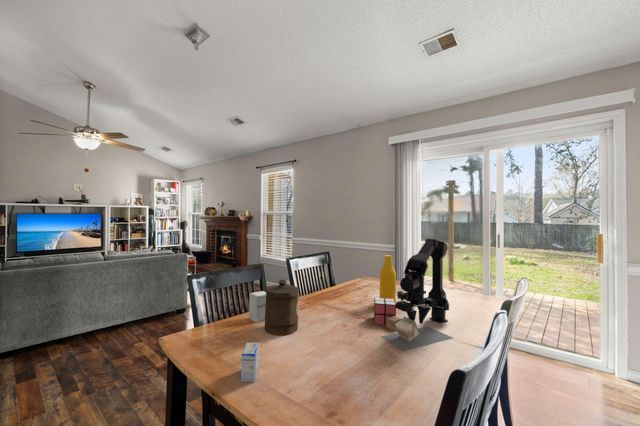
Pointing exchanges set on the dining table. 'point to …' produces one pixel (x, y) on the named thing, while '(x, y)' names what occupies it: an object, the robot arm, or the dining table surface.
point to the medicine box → (250, 362)
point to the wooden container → (281, 309)
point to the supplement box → (257, 306)
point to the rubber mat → (417, 339)
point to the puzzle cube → (383, 309)
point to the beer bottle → (388, 279)
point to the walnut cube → (392, 322)
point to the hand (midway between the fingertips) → (416, 324)
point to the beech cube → (407, 328)
